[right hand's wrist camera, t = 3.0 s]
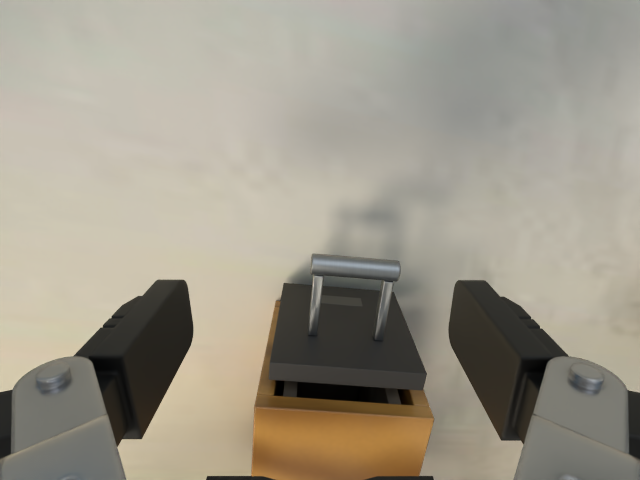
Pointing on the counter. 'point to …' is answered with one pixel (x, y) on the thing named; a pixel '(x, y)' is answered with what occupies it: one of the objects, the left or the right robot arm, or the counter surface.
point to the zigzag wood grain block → (335, 433)
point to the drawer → (345, 336)
